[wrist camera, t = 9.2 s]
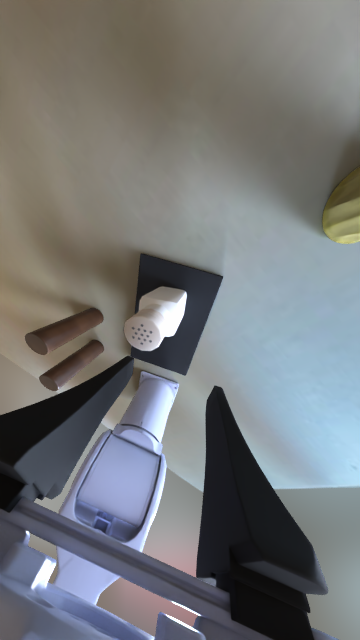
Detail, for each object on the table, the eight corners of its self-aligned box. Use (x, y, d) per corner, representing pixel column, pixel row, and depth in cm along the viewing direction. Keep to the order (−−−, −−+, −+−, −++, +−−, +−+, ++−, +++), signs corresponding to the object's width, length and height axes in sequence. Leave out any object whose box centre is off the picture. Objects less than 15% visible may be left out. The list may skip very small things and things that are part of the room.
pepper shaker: (159, 284, 18) (116, 305, 10) (188, 289, 18) (169, 316, 9) (158, 311, 20) (120, 349, 11) (183, 316, 19) (164, 360, 11)
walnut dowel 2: (104, 354, 27) (59, 393, 19) (91, 349, 27) (41, 386, 19) (103, 342, 26) (56, 380, 18) (90, 338, 26) (36, 372, 18)
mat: (186, 373, 25) (185, 375, 24) (132, 354, 25) (130, 356, 25) (222, 276, 17) (223, 276, 16) (142, 253, 17) (140, 253, 17)
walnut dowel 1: (103, 325, 24) (50, 358, 16) (88, 320, 24) (28, 350, 16) (103, 310, 23) (44, 338, 15) (87, 305, 23) (21, 329, 15)
